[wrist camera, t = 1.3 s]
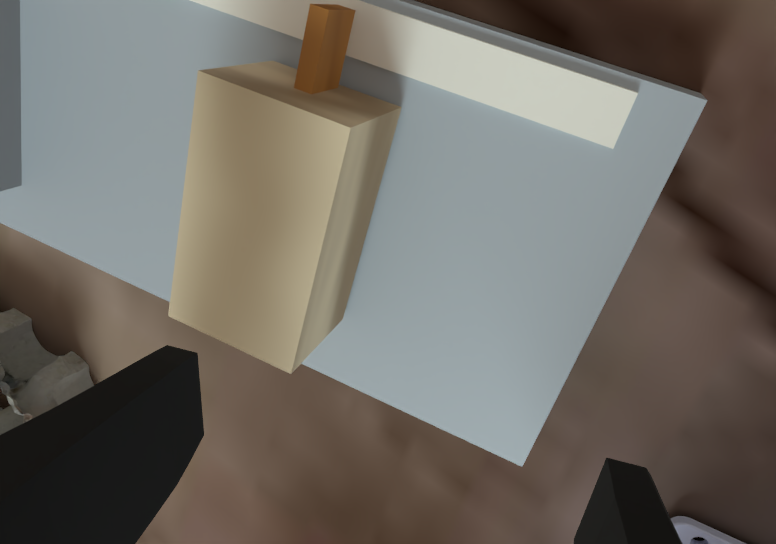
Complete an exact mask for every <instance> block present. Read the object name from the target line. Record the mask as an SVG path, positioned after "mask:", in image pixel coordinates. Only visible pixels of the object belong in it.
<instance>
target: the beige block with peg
mask: <svg viewBox="0 0 776 544" xmlns="http://www.w3.org/2000/svg"><path fill="white" fill-rule="evenodd" d="M355 11H356V10H353V9H350V8H347V7H344V6H341V5H336V4H310V7H309V12H308V17H307V22H306V28H305V33H304V38H303V43H302V48H301V53H300V59H299V64H298V69H295V68H292V67H289V66H287V65H284V64H281V63H278V62H276V61H266V62H258V63H251V64H243V65H235V66H228V67H220V68H212V69H205V70H198V74H197V82H196V91H195V99H194V107H193V116H192V124H191V132H190V140H189V149H188V157H187V165H186V174H185V182H184V190H183V198H182V207H181V215H180V223H179V232H178V240H177V248H176V256H175V265H174V273H173V281H172V290H171V298H170V306H169V314H168V316H169V317H171V318H174V319H176V320H178V321H180V322H182V323H184V324H186V325H188V326H190V327H193V328H195V329H197V330H199V331H201V332H203V333H205V334H207V335H209V336H212V337H214V338H216V339H218V340H220V341H222V342H224V343H226V344H229V345H231V346H233V347H235V348H237V349H239V350H241V351H243V352H245V353H248V354H250V355H252V356H254V357H256V358H258V359H260V360H262V361H264V362H267V363H269V364H271V365H273V366H275V367H277V368H279V369H281V370H283V371H286V372H288V373H290V374H291V373H292V372H293V371H294V370H295V369H296V368H297V367H298V366H299V365H300V364H301V363H302V362H303V361H304V360H305V359H306V358H307V357H308V355H309V354H310V353H311V352H312V351H313V350H314V349H315V348H316V347H317V346H318V345H319V344H320V343H321V342H322V341H323V340H324V339H325V337H326V336H327V335H328V334H329V333H330V332H331V331H332V330H333V329H334V328H335V327H336V326H337V325H338V324H339V323H340V322H341V321H342V319H343V317H344V313H345V310H346V306H347V302H348V299H349V295H350V292H351V288H352V284H353V281H354V277H355V274H356V270H357V266H358V263H359V259H360V256H361V252H362V248H363V245H364V241H365V238H366V234H367V230H368V227H369V223H370V220H371V216H372V212H373V209H374V205H375V202H376V198H377V194H378V191H379V187H380V184H381V180H382V176H383V173H384V169H385V166H386V162H387V158H388V155H389V151H390V148H391V144H392V140H393V137H394V133H395V130H396V126H397V122H398V119H399V115H400V112H401V108H402V107H400V106H397V105H394V104H392V103H389V102H386V101H383V100H381V99H378V98H375V97H372V96H369V95H367V94H364V93H361V92H358V91H356V90H353V89H350V88H347V87H345V86H342V85H339V81H340V77H341V72H342V68H343V64H344V59H345V55H346V50H347V46H348V42H349V37H350V33H351V28H352V24H353V19H354V15H355Z"/></svg>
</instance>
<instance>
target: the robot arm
mask: <svg viewBox="0 0 776 544" xmlns="http://www.w3.org/2000/svg"><path fill="white" fill-rule="evenodd" d="M203 436H204V429H203V416H202V404H201V392H200V379H199V367H198V355H197V353H195V352H191V351H187V350H183V349H180V348H176V347H172V346H168V345H167V346H165V347H163V348H161V349H159V350H157V351H155V352H153V353H151V354H150V355H148V356H146V357H144V358H142V359H141V360H139V361H137V362H135V363H133V364H132V365H130V366H128V367H126V368H125V369H123V370H121V371H119V372H117V373H116V374H114V375H112V376H110V377H109V378H107V379H105V380H103V381H102V382H100V383H98V384H96V385H94V386H92V387H91V388H89V389H87V390H85V391H83V392H82V393H80V394H78V395H76V396H74V397H72V398H71V399H69V400H67V401H65V402H63V403H62V404H60V405H58V406H56V407H54V408H52V409H50V410H49V411H47V412H45V413H43V414H41V415H39V416H37V417H35V418H33V419H31V420H29V421H27V422H25V423H23V424H21V425H19V426H17V427H15V428H13V429H11V430H9V431H7V432H5V433H3V434H1V435H0V544H135V543H136V542H137V540H138V539H139V538H140V536H141V535H142V533H143V532H144V531H145V529H146V528H147V527H148V525H149V524H150V522H151V521H152V520H153V518H154V517H155V515H156V514H157V512H158V511H159V510H160V508H161V507H162V505H163V504H164V503H165V501H166V500H167V498H168V497H169V495H170V494H171V493H172V491H173V490H174V488H175V487H176V485H177V484H178V482H179V480H180V478H181V477H182V475H183V473H184V471H185V469H186V468H187V466H188V464H189V462H190V460H191V459H192V457H193V455H194V453H195V451H196V449H197V447H198V445H199V443H200V441H201V440H202V438H203ZM694 537H702V538H704V539H705V540H703V541H697V540H694V539H693V538H694ZM574 544H746V543H744V542H742V541H740V540H737V539H735V538H733V537H731V536H729V535H726V534H724V533H722V532H720V531H718V530H716V529H713V528H711V527H709V526H707V525H705V524H702V523H700V522H698V521H696V520H694V519H692V518H689V517H685V516H676V517H673V518H671V519H670V517H669V514H668V512H667V510H666V508H665V506H664V504H663V501H662V499H661V497H660V495H659V493H658V490H657V488H656V486H655V484H654V481H653V479H652V477H651V475H650V473H649V472H648V470H647V469H646V468H645V467H641V466H637V465H633V464H629V463H625V462H621V461H617V460H614V459H610V458H606V460H605V463H604V465H603V468H602V470H601V473H600V475H599V478H598V480H597V483H596V485H595V488H594V490H593V493H592V495H591V498H590V500H589V503H588V505H587V508H586V510H585V513H584V515H583V518H582V520H581V523H580V525H579V528H578V530H577V533H576V535H575V538H574Z"/></svg>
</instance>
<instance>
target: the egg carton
mask: <svg viewBox="0 0 776 544" xmlns="http://www.w3.org/2000/svg"><path fill="white" fill-rule="evenodd" d="M92 386H94V384H93V382H92V380H91V377H90V374H89V366H88V364H87V363H86V362H85V361H84V360H83V359H82V358H81V357H79V356H78V355H77V354H75V353H74V352H72V351H71V352H69V353H68V354H66V355H63V356H56V355H54V354H51V353H50V352H48V351H46V350H45V349H44V348H43V347H42V346H41V345H40V343H39V342H38V340H37V338H36V337H35V335H34V332H33V329H32V319H31V318H29V317H28V316H26V315H25V314H23V313H21V312H19V311H18V310H16V309H15V308H12V309H11V310H8V311H5V312H0V388H1V390H2V393H3V394H4V395H6V397H7V399H8V402H9V404H10V405H11V406H8V407H7V408H5V409H2V408H1V407H0V435H1V434H3V433H5V432H7V431H9V430H11V429H13V428H15V427H17V426H19V425H21V424H23V423H25V422H27V421H29V420H31V419H33V418H35V417H37V416H39V415H41V414H43V413H45V412H47V411H49V410H50V409H52V408H54V407H56V406H58V405H60V404H62V403H63V402H65V401H67V400H69V399H71V398H72V397H74V396H76V395H78V394H80V393H82V392H83V391H85V390H87V389H89V388H91V387H92Z"/></svg>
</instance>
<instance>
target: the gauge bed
mask: <svg viewBox="0 0 776 544" xmlns="http://www.w3.org/2000/svg"><path fill="white" fill-rule="evenodd" d="M310 4H336V5H341V6H344V7H347V8H350V9H353V10H356V11H355V15H354V19H353V24H352V28H351V33H350V37H349V42H348V46H347V50H346V55H345V59H344V64H343V68H342V72H341V77H340V81H339V85H342V86H345V87H347V88H350V89H353V90H356V91H358V92H361V93H364V94H367V95H369V96H372V97H375V98H378V99H381V100H383V101H386V102H389V103H392V104H394V105H397V106H400V107H402V108H401V112H400V115H399V119H398V122H397V126H396V130H395V133H394V137H393V140H392V144H391V148H390V151H389V155H388V158H387V162H386V166H385V169H384V173H383V176H382V180H381V184H380V187H379V191H378V194H377V198H376V202H375V205H374V209H373V212H372V216H371V220H370V223H369V227H368V230H367V234H366V238H365V241H364V245H363V248H362V252H361V256H360V259H359V263H358V266H357V270H356V274H355V277H354V281H353V284H352V288H351V292H350V295H349V299H348V302H347V306H346V310H345V313H344V317H343V319H342V321H341V322H340V323H339V324H338V325H337V326H336V327H335V328H334V329H333V330H332V331H331V332H330V333H329V334H328V335H327V336H326V337H325V339H324V340H323V341H322V342H321V343H320V344H319V345H318V346H317V347H316V348H315V349H314V350H313V351H312V352H311V353H310V354H309V355H308V357H307V358H306V359H305V360H304V361H303V362H302V363H301V364H303V365H305V366H308V367H310V368H312V369H314V370H316V371H318V372H320V373H323V374H325V375H327V376H329V377H331V378H333V379H335V380H338V381H340V382H342V383H344V384H346V385H348V386H350V387H353V388H355V389H357V390H359V391H361V392H363V393H365V394H368V395H370V396H372V397H374V398H376V399H378V400H380V401H382V402H385V403H387V404H389V405H391V406H393V407H395V408H397V409H400V410H402V411H404V412H406V413H408V414H410V415H412V416H415V417H417V418H419V419H421V420H423V421H425V422H427V423H430V424H432V425H434V426H436V427H438V428H440V429H442V430H445V431H447V432H449V433H451V434H453V435H455V436H457V437H459V438H462V439H464V440H466V441H468V442H470V443H472V444H474V445H477V446H479V447H481V448H483V449H485V450H487V451H489V452H492V453H494V454H496V455H498V456H500V457H502V458H504V459H507V460H509V461H511V462H513V463H515V464H517V465H519V466H523V464H524V462H525V460H526V458H527V456H528V454H529V452H530V450H531V448H532V446H533V444H534V442H535V440H536V438H537V436H538V434H539V432H540V430H541V428H542V426H543V424H544V422H545V421H546V419H547V417H548V415H549V413H550V411H551V409H552V407H553V405H554V403H555V401H556V399H557V397H558V395H559V393H560V391H561V389H562V387H563V385H564V383H565V381H566V379H567V377H568V375H569V373H570V371H571V369H572V367H573V365H574V363H575V361H576V359H577V357H578V355H579V353H580V351H581V349H582V347H583V345H584V343H585V341H586V339H587V338H588V336H589V334H590V332H591V330H592V328H593V326H594V324H595V322H596V320H597V318H598V316H599V314H600V312H601V310H602V308H603V306H604V304H605V302H606V300H607V298H608V296H609V294H610V292H611V290H612V288H613V286H614V284H615V282H616V280H617V278H618V276H619V274H620V272H621V270H622V268H623V266H624V264H625V262H626V260H627V258H628V257H629V255H630V253H631V251H632V249H633V247H634V245H635V243H636V241H637V239H638V237H639V235H640V233H641V231H642V229H643V227H644V225H645V223H646V221H647V219H648V217H649V215H650V213H651V211H652V209H653V207H654V205H655V203H656V201H657V199H658V197H659V195H660V193H661V191H662V189H663V187H664V185H665V183H666V181H667V179H668V177H669V176H670V174H671V172H672V170H673V168H674V166H675V164H676V162H677V160H678V158H679V156H680V154H681V152H682V150H683V148H684V146H685V144H686V142H687V140H688V138H689V136H690V134H691V132H692V130H693V128H694V126H695V124H696V122H697V120H698V118H699V116H700V114H701V112H702V110H703V108H704V106H705V104H706V102H707V99H706V98H705V97H704V96H703V95H702V94H701V93H698V92H695V91H692V90H689V89H686V88H683V87H680V86H677V85H674V84H671V83H668V82H664V81H661V80H658V79H655V78H652V77H649V76H646V75H643V74H640V73H637V72H634V71H631V70H627V69H624V68H621V67H618V66H615V65H612V64H609V63H606V62H603V61H600V60H597V59H593V58H590V57H587V56H584V55H581V54H578V53H575V52H572V51H569V50H566V49H563V48H559V47H556V46H553V45H550V44H547V43H544V42H541V41H538V40H535V39H532V38H529V37H526V36H522V35H519V34H516V33H513V32H510V31H507V30H504V29H501V28H498V27H495V26H492V25H488V24H485V23H482V22H479V21H476V20H473V19H470V18H467V17H464V16H461V15H458V14H455V13H451V12H448V11H445V10H442V9H439V8H436V7H433V6H430V5H427V4H424V3H421V2H417V1H414V0H0V223H2V224H4V225H6V226H8V227H10V228H12V229H15V230H17V231H19V232H21V233H23V234H25V235H27V236H30V237H32V238H34V239H36V240H38V241H40V242H42V243H45V244H47V245H49V246H51V247H53V248H55V249H57V250H60V251H62V252H64V253H66V254H68V255H70V256H72V257H75V258H77V259H79V260H81V261H83V262H85V263H87V264H89V265H92V266H94V267H96V268H98V269H100V270H102V271H104V272H107V273H109V274H111V275H113V276H115V277H117V278H119V279H122V280H124V281H126V282H128V283H130V284H132V285H134V286H137V287H139V288H141V289H143V290H145V291H147V292H149V293H152V294H154V295H156V296H158V297H160V298H162V299H164V300H166V301H169V302H170V298H171V290H172V281H173V273H174V265H175V256H176V248H177V240H178V232H179V223H180V215H181V207H182V198H183V190H184V182H185V174H186V165H187V157H188V149H189V140H190V132H191V124H192V116H193V107H194V99H195V91H196V82H197V74H198V70H205V69H212V68H220V67H228V66H235V65H243V64H251V63H258V62H266V61H276V62H278V63H281V64H284V65H287V66H289V67H292V68H295V69H298V64H299V59H300V53H301V48H302V43H303V38H304V33H305V28H306V22H307V17H308V12H309V7H310Z"/></svg>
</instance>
